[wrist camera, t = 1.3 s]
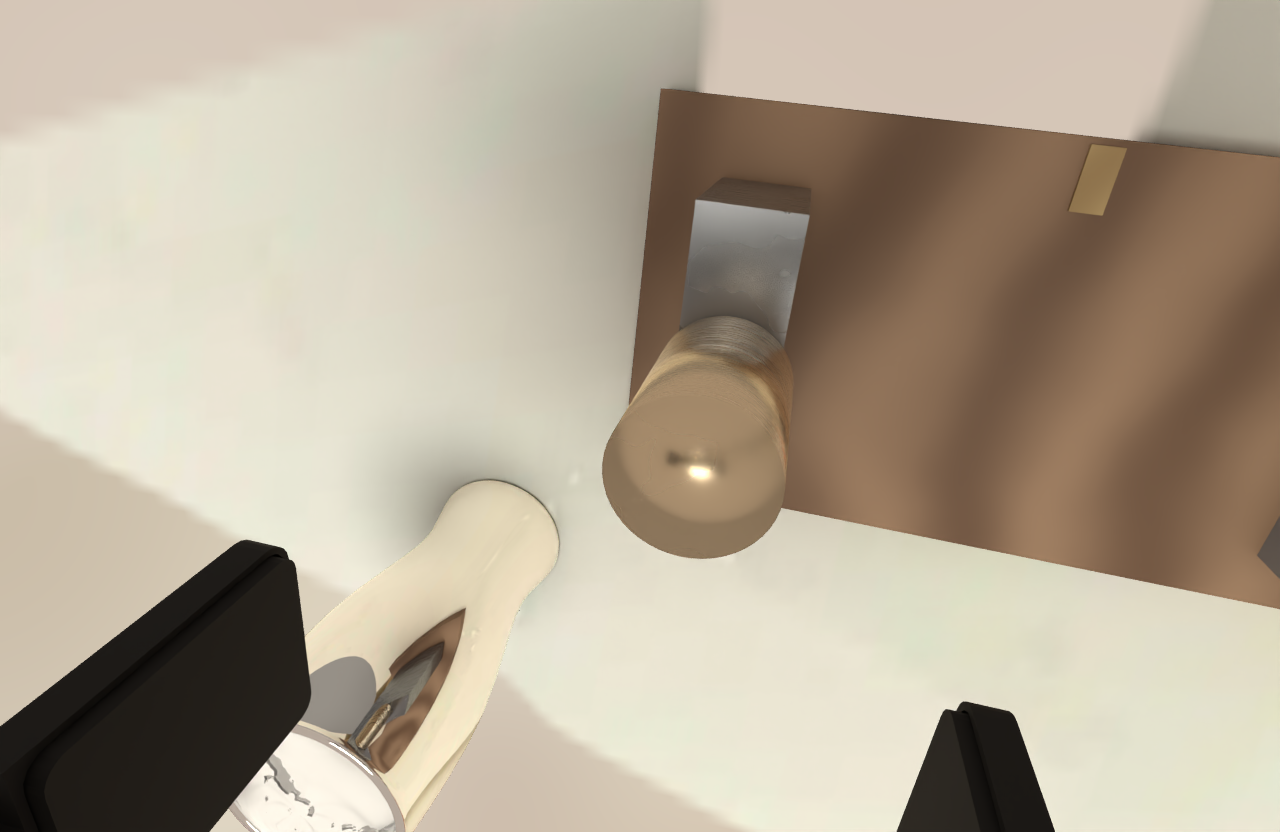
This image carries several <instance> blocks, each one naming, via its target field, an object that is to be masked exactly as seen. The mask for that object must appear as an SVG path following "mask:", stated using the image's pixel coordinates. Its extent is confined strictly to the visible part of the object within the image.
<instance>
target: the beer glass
mask: <svg viewBox="0 0 1280 832" xmlns="http://www.w3.org/2000/svg"><path fill="white" fill-rule="evenodd" d="M558 552H559V538H558V533H557V529H556V526H555V524H554V522H553V520H552V518H551V516H550V515H549V513H548V512H547V510H546V509H545V508H544V507H543V505H542V504H541V503H540V502H539V501H538V500H537V499H535V498H534V497H533V496H532V495H530V494H529V493H527V492H526V491H524V490H522V489H521V488H519V487H516V486H514V485H511V484H509V483H505V482H501V481H494V480H482V481H476V482H472V483H469V484H467V485H465V486H463V487H461V488H460V489H458V490H457V491H456V492H455V493H453V495H452V496H451V497H450V498H449V499H448V501H447V502H446V504H445V506H444V508H443V510H442V512H441V514H440V516H439V518H438V520H437V522H436V524H435V525H434V527H433V529H432V530H431V532H430V533H429V534H428V536H427V537H426V538H425V539H424V540H423V541H422V542H421V543H420V544H419V545H418V546H417V547H415V548H414V549H413V550H411V551H410V552H409V553H407V554H406V555H405V556H403V557H402V558H401V559H399V560H398V561H396V562H395V563H394V564H392V565H391V566H389V567H388V568H386V569H385V570H384V571H382V572H381V573H379V574H378V575H377V576H375V577H374V578H372V579H371V580H370V581H368V582H367V583H365V584H364V585H363V586H361V587H360V588H359V589H357V590H356V591H355V592H353V593H352V594H351V595H350V596H349V597H347V598H346V599H345V600H344V601H342V602H341V603H340V604H339V605H337V606H336V607H335V608H334V609H333V610H331V611H330V612H329V613H328V614H327V615H326V616H325V617H324V618H323V619H322V620H321V621H320V622H319V623H318V624H317V625H316V626H315V627H314V628H313V629H312V630H311V631H310V632H309V633H308V634H307V635H306V636H305V644H306V652H307V660H308V668H309V676H310V683H311V699H310V703H309V706H308V708H307V710H306V712H305V714H304V716H303V717H302V718H301V720H300V721H299V722H298V723H297V725H296V726H295V727H294V728H293V730H292V731H291V732H290V733H289V735H288V736H287V737H286V738H285V739H284V741H283V742H282V743H281V744H280V746H279V747H278V748H277V749H276V750H275V752H274V753H273V754H272V755H271V757H270V758H269V759H268V760H267V762H266V763H265V764H264V765H263V766H262V768H261V769H260V770H259V771H258V773H257V774H256V775H255V776H254V778H253V779H252V780H251V781H250V782H249V784H248V785H247V786H246V787H245V789H244V790H243V791H242V792H241V794H240V795H239V796H238V797H237V798H236V800H235V801H234V802H233V803H232V805H231V806H230V807H229V809H230V811H231V812H232V813H233V814H234V816H235V817H236V818H237V819H238V820H239V821H240V822H241V823H242V824H243V826H244V827H245V828H247V829H248V830H249V831H250V832H414V830H415V829H416V827H417V826H418V824H419V823H420V821H421V820H422V818H423V817H424V815H425V814H426V812H427V811H428V809H429V808H430V806H431V805H432V803H433V802H434V800H435V799H436V797H437V796H438V794H439V792H440V790H441V789H442V788H443V786H444V785H445V783H446V781H447V780H448V778H449V776H450V775H451V773H452V771H453V770H454V768H455V766H456V765H457V763H458V761H459V759H460V758H461V756H462V754H463V753H464V751H465V749H466V747H467V745H468V743H469V741H470V739H471V737H472V735H473V733H474V731H475V729H476V727H477V725H478V723H479V721H480V719H481V717H482V715H483V712H484V710H485V707H486V705H487V702H488V699H489V697H490V694H491V691H492V689H493V686H494V683H495V680H496V677H497V674H498V671H499V668H500V665H501V661H502V658H503V655H504V652H505V648H506V645H507V642H508V638H509V635H510V632H511V629H512V626H513V623H514V620H515V617H516V615H517V613H518V611H520V610H519V609H520V607H521V605H522V603H523V602H524V600H525V599H526V597H527V596H528V595H529V594H530V592H531V591H532V590H533V589H534V588H535V587H536V586H537V585H538V584H539V583H540V582H541V581H542V580H543V579H544V578H545V577H546V576H547V575H548V574H549V573H550V571H551V570H552V568H553V567H554V565H555V563H556V560H557V557H558Z"/></svg>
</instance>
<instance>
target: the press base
mask: <svg viewBox="0 0 1280 832" xmlns="http://www.w3.org/2000/svg"><path fill="white" fill-rule="evenodd" d="M722 177H726V178H734V179H742V180H749V181H757V182H765V183H772V184H780V185H788V186H795V187H803V188H811V203H810V216H809V221H808V226H807V231H806V237H805V242H804V247H803V252H802V257H801V262H800V267H799V272H798V277H797V282H796V287H795V292H794V297H793V303H792V308H791V313H790V318H789V323H788V328H787V333H786V338H785V343H784V348H783V349H784V351H785V352H786V354H787V356H788V358H789V361H790V364H791V367H792V372H793V398H792V410H791V422H790V434H789V446H788V458H787V471H786V483H785V492H784V500H783V503H782V506H781V508H785V509H790V510H795V511H800V512H805V513H810V514H815V515H819V516H824V517H829V518H834V519H839V520H844V521H849V522H854V523H859V524H864V525H869V526H874V527H879V528H883V529H888V530H893V531H898V532H903V533H908V534H913V535H918V536H923V537H928V538H933V539H938V540H943V541H947V542H952V543H957V544H962V545H967V546H972V547H977V548H982V549H987V550H992V551H997V552H1002V553H1007V554H1011V555H1016V556H1021V557H1026V558H1031V559H1036V560H1041V561H1046V562H1051V563H1056V564H1061V565H1066V566H1071V567H1076V568H1080V569H1085V570H1090V571H1095V572H1100V573H1105V574H1110V575H1115V576H1120V577H1125V578H1130V579H1135V580H1140V581H1144V582H1149V583H1154V584H1159V585H1164V586H1169V587H1174V588H1179V589H1184V590H1189V591H1194V592H1199V593H1204V594H1208V595H1213V596H1218V597H1223V598H1228V599H1233V600H1238V601H1243V602H1248V603H1253V604H1258V605H1263V606H1268V607H1273V608H1277V609H1280V157H1272V156H1263V155H1254V154H1245V153H1236V152H1227V151H1218V150H1209V149H1200V148H1191V147H1182V146H1173V145H1164V144H1155V143H1147V142H1138V141H1129V140H1120V139H1111V138H1102V137H1093V136H1083V135H1075V134H1066V133H1057V132H1047V131H1039V130H1030V129H1021V128H1012V127H1003V126H994V125H985V124H977V123H968V122H958V121H950V120H940V119H932V118H922V117H913V116H905V115H896V114H886V113H878V112H868V111H859V110H851V109H842V108H833V107H824V106H816V105H807V104H797V103H789V102H780V101H771V100H762V99H753V98H744V97H734V96H726V95H717V94H708V93H699V92H690V91H681V90H673V89H661V93H660V102H659V112H658V122H657V132H656V142H655V152H654V161H653V171H652V181H651V191H650V201H649V211H648V220H647V230H646V240H645V250H644V260H643V270H642V279H641V289H640V299H639V309H638V319H637V329H636V338H635V348H634V358H633V368H632V378H631V388H630V397H629V405H630V404H631V402H632V400H633V399H634V397H635V395H636V394H637V392H638V390H639V389H640V387H641V386H642V384H643V382H644V381H645V379H646V377H647V376H648V374H649V372H650V371H651V369H652V367H653V366H654V364H655V363H656V361H657V359H658V358H659V356H660V354H661V353H662V351H663V349H664V348H665V346H666V345H667V343H668V342H669V341H670V339H671V338H672V337H673V336H674V335H675V334H676V333H677V332H679V326H680V318H681V310H682V303H683V295H684V287H685V279H686V271H687V264H688V256H689V248H690V240H691V233H692V225H693V217H694V209H695V201H696V199H697V198H698V197H699V196H701V195H702V194H703V193H704V192H705V191H707V190H708V189H709V188H710V187H711V186H712V185H714V184H715V183H716V182H717V181H718V180H720V179H721V178H722Z"/></svg>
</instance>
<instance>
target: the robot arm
mask: <svg viewBox="0 0 1280 832" xmlns="http://www.w3.org/2000/svg"><path fill="white" fill-rule="evenodd" d="M310 699H311V683H310V676H309V668H308V660H307V652H306V644H305V636H304V628H303V620H302V612H301V604H300V596H299V589H298V581H297V573H296V567H295V563H294V562H293V561H292V560H289V558H288V555H287V552H286V551H285V550H284V549H283V548H280V547H277V546H272V545H268V544H264V543H259V542H255V541H250V540H242V541H240V542H238V543H236V544H234V545H233V546H232V547H230V548H229V549H228V550H227V551H225V552H224V553H223V554H221V555H220V556H219V557H218V558H216V559H215V560H214V561H212V562H211V563H210V564H209V565H207V566H206V567H205V568H204V569H202V570H201V571H200V572H198V573H197V574H196V575H194V576H193V577H192V578H191V579H189V580H188V581H187V582H185V583H184V584H183V585H182V586H180V587H179V588H178V589H176V590H175V591H174V592H173V593H171V594H170V595H169V596H168V597H166V598H165V599H164V600H162V601H161V602H160V603H158V604H157V605H156V606H155V607H153V608H152V609H151V610H149V611H148V612H147V613H146V614H144V615H143V616H142V617H140V618H139V619H138V620H137V621H135V622H134V623H133V624H132V625H130V626H129V627H128V628H126V629H125V630H124V631H122V632H121V633H120V634H119V635H117V636H116V637H115V638H113V639H112V640H111V641H110V642H108V643H107V644H106V645H104V646H103V647H102V648H101V649H99V650H98V651H97V652H95V653H94V654H93V655H92V656H90V657H89V658H88V659H87V660H85V661H84V662H83V663H81V664H80V665H79V666H77V667H76V668H75V669H74V670H72V671H71V672H70V673H68V674H67V675H66V676H65V677H63V678H62V679H61V680H60V681H58V682H57V683H56V684H54V685H53V686H52V687H50V688H49V689H48V690H47V691H45V692H44V693H43V694H41V695H40V696H39V697H38V698H36V699H35V700H34V701H32V702H31V703H30V704H29V705H27V706H26V707H25V708H23V709H22V710H21V711H20V712H18V713H17V714H16V715H14V716H13V717H12V718H11V719H9V720H8V721H7V722H5V723H4V724H3V725H1V726H0V832H210V830H211V829H212V828H213V827H214V825H215V824H216V823H217V822H218V821H219V819H220V818H221V817H222V816H223V814H224V813H225V812H226V811H227V809H228V808H229V807H230V806H231V805H232V803H233V802H234V801H235V800H236V798H237V797H238V796H239V795H240V794H241V792H242V791H243V790H244V789H245V787H246V786H247V785H248V784H249V782H250V781H251V780H252V779H253V778H254V776H255V775H256V774H257V773H258V771H259V770H260V769H261V768H262V766H263V765H264V764H265V763H266V762H267V760H268V759H269V758H270V757H271V755H272V754H273V753H274V752H275V750H276V749H277V748H278V747H279V746H280V744H281V743H282V742H283V741H284V739H285V738H286V737H287V736H288V735H289V733H290V732H291V731H292V730H293V728H294V727H295V726H296V725H297V723H298V722H299V721H300V720H301V718H302V717H303V716H304V714H305V712H306V710H307V708H308V706H309V703H310ZM897 832H1055V830H1054V827H1053V824H1052V821H1051V818H1050V816H1049V813H1048V810H1047V807H1046V804H1045V801H1044V798H1043V795H1042V793H1041V790H1040V787H1039V784H1038V781H1037V778H1036V775H1035V772H1034V769H1033V767H1032V764H1031V761H1030V758H1029V755H1028V752H1027V749H1026V746H1025V744H1024V741H1023V738H1022V735H1021V732H1020V729H1019V726H1018V723H1017V721H1016V719H1015V717H1014V715H1013V714H1012V713H1011V712H1010V711H1006V710H1001V709H997V708H992V707H988V706H983V705H979V704H974V703H970V702H962V703H961V704H960V705H959V707H958V708H957V710H956V711H953V710H949V709H946V710H944V711H943V713H942V715H941V717H940V720H939V723H938V725H937V728H936V730H935V733H934V736H933V738H932V741H931V743H930V746H929V749H928V751H927V754H926V757H925V759H924V762H923V764H922V767H921V770H920V772H919V775H918V777H917V780H916V783H915V785H914V788H913V790H912V793H911V796H910V798H909V801H908V803H907V806H906V809H905V811H904V814H903V816H902V819H901V822H900V824H899V827H898V829H897Z"/></svg>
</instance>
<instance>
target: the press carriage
mask: <svg viewBox="0 0 1280 832" xmlns="http://www.w3.org/2000/svg"><path fill="white" fill-rule="evenodd" d="M810 203H811V188H803V187H795V186H788V185H780V184H772V183H765V182H757V181H749V180H742V179H734V178H726V177H722V178H721V179H720V180H718V181H717V182H716V183H715V184H714V185H712V186H711V187H710V188H709V189H708V190H707V191H705V192H704V193H703V194H702V195H701V196H699V197H698V198H697V199H696V201H695V209H694V217H693V225H692V233H691V240H690V248H689V256H688V264H687V271H686V279H685V287H684V295H683V303H682V310H681V318H680V326H679V332H677V333H676V334H675V335H674V336H673V337H672V338H671V339H670V341H669V342H668V343H667V345H666V346H665V348H664V349H663V351H662V353H661V354H660V356H659V358H658V359H657V361H656V363H655V364H654V366H653V367H652V369H651V371H650V372H649V374H648V376H647V377H646V379H645V381H644V382H643V384H642V386H641V387H640V389H639V390H638V392H637V394H636V395H635V397H634V399H633V400H632V402H631V404H630V405H629V407H628V408H627V410H626V412H625V413H624V415H623V417H622V418H621V420H620V422H619V423H618V425H617V426H616V428H615V430H614V431H613V433H612V435H611V437H610V439H609V441H608V443H607V446H606V449H605V452H604V457H603V463H602V475H603V483H604V487H605V491H606V495H607V497H608V499H609V502H610V504H611V506H612V508H613V509H614V511H615V513H616V514H617V516H618V517H619V518H620V520H621V521H622V522H623V523H624V524H625V525H626V527H627V528H628V529H629V530H630V531H632V532H633V533H634V534H635V535H636V536H637V537H639V538H640V539H642V540H643V541H645V542H646V543H648V544H649V545H651V546H653V547H655V548H657V549H659V550H662V551H664V552H667V553H670V554H673V555H677V556H681V557H687V558H698V559H706V558H717V557H723V556H727V555H730V554H733V553H736V552H738V551H741V550H743V549H745V548H747V547H748V546H750V545H752V544H753V543H755V542H756V541H757V540H759V539H760V538H761V537H762V536H763V535H764V534H765V533H766V532H767V531H768V530H769V529H770V527H771V526H772V524H773V523H774V522H775V520H776V518H777V516H778V514H779V512H780V510H781V506H782V503H783V500H784V492H785V483H786V471H787V458H788V446H789V434H790V422H791V410H792V398H793V372H792V367H791V364H790V361H789V358H788V356H787V354H786V352H785V351H784V349H783V348H784V343H785V338H786V333H787V328H788V323H789V318H790V313H791V308H792V303H793V297H794V292H795V287H796V282H797V277H798V272H799V267H800V262H801V257H802V252H803V247H804V242H805V237H806V231H807V226H808V221H809V216H810Z"/></svg>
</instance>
